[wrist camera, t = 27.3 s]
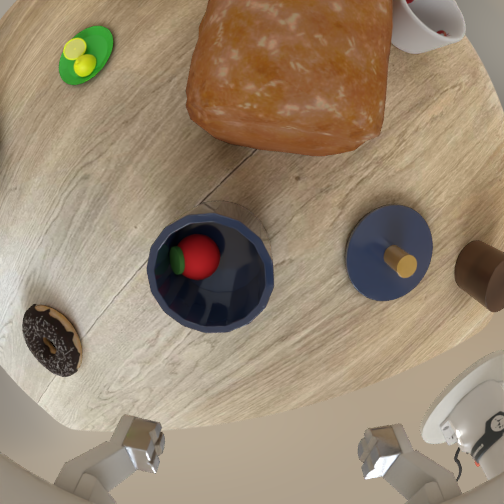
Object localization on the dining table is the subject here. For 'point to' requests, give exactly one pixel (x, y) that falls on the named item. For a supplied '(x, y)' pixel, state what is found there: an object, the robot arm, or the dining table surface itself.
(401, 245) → the pot lid
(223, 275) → the pot
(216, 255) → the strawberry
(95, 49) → the green dish with lemons
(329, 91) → the bread
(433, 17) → the cup
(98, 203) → the dining table surface
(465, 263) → the stand
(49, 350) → the donut
